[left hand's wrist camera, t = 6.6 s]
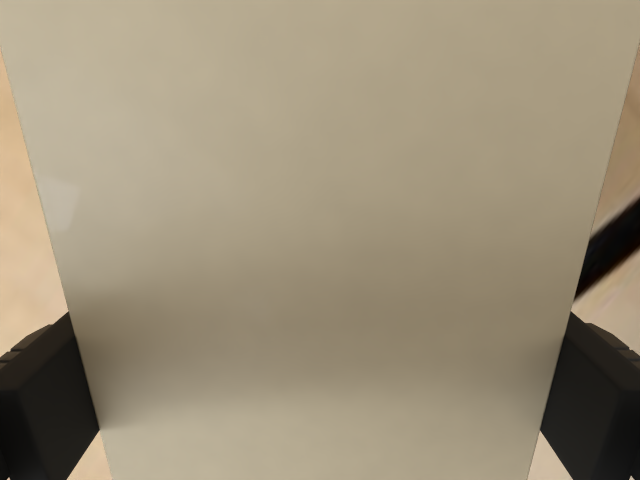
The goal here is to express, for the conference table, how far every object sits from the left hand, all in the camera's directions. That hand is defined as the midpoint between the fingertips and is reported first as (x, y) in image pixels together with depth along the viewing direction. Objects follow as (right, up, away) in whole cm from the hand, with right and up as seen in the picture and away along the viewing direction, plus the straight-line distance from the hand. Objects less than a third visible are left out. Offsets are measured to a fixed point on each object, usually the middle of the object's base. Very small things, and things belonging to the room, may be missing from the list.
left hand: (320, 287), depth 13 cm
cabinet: (0, +7, +4) cm, 8 cm away
